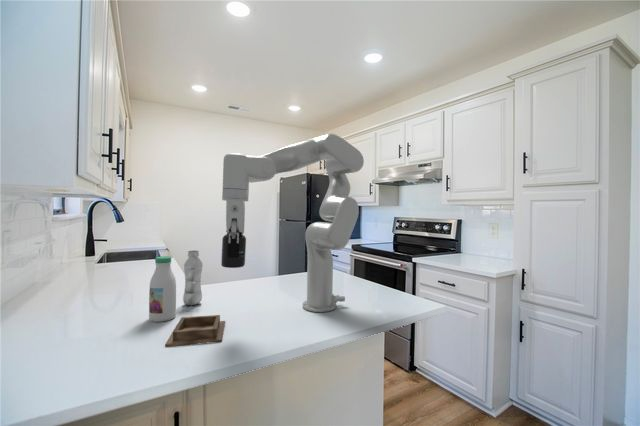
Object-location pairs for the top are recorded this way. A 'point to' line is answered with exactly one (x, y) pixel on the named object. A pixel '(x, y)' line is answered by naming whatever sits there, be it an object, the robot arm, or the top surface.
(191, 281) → the plastic bottle
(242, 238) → the supplement bottle
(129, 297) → the top surface
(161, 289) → the milk bottle
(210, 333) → the walnut stand
